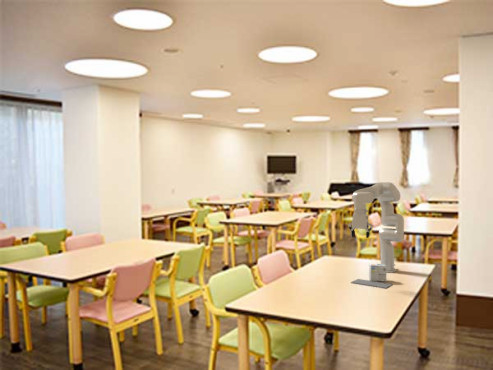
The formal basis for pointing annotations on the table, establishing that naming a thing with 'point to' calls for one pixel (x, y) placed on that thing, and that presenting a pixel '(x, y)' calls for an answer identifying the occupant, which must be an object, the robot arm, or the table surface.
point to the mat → (371, 283)
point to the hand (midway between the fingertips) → (360, 237)
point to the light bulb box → (377, 272)
